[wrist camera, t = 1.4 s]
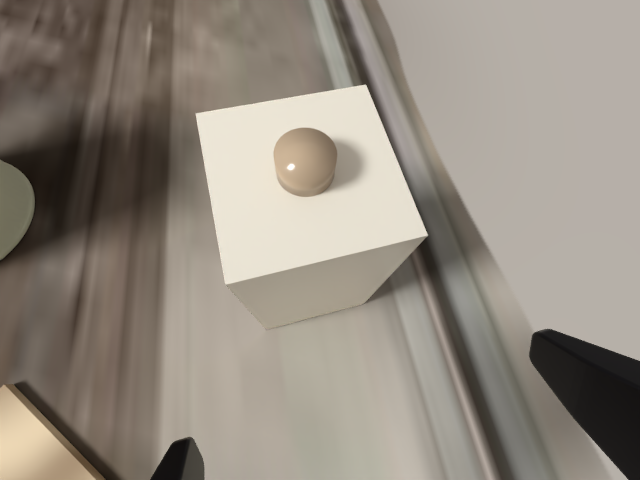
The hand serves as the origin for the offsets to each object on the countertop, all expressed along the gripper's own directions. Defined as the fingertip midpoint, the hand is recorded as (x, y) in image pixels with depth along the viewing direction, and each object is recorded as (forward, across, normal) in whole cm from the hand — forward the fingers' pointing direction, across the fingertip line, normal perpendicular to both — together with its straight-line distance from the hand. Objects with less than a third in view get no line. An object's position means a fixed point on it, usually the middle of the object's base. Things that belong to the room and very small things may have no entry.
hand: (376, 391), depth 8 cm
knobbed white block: (+14, 0, +4) cm, 14 cm away
